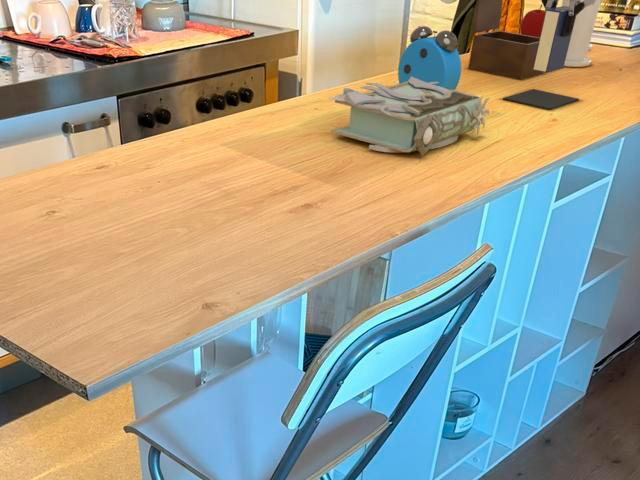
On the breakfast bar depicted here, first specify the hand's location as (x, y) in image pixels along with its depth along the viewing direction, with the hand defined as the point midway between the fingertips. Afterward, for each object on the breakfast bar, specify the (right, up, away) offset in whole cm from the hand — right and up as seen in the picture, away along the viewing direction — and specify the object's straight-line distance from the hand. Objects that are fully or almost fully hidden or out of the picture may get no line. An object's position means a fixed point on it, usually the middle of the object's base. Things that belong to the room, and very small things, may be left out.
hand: (556, 33), depth 181 cm
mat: (0, -10, +9) cm, 14 cm away
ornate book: (-37, -32, -18) cm, 52 cm away
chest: (-2, +9, +32) cm, 33 cm away
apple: (+17, +35, +65) cm, 76 cm away
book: (0, -6, +5) cm, 7 cm away
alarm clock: (-29, -15, +2) cm, 33 cm away
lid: (-7, +25, +26) cm, 37 cm away
